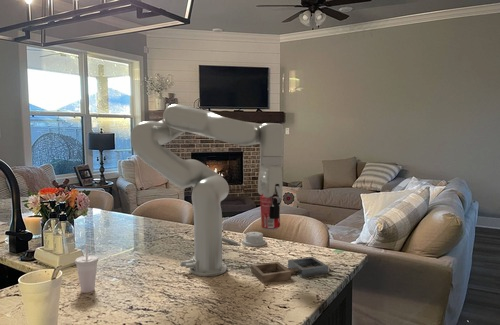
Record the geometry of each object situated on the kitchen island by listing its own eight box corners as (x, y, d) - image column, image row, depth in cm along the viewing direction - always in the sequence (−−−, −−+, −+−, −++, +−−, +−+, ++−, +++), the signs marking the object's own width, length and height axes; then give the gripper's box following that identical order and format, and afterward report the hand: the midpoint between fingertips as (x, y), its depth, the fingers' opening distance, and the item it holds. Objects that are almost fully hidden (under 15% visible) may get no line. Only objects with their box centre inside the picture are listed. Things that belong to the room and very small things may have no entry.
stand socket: (262, 283, 117) (262, 275, 117) (251, 272, 126) (251, 265, 126) (290, 279, 121) (291, 271, 121) (277, 268, 130) (277, 261, 130)
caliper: (196, 240, 164) (196, 226, 163) (198, 239, 165) (198, 225, 164) (239, 246, 156) (239, 231, 155) (240, 245, 157) (240, 230, 156)
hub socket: (290, 279, 121) (291, 271, 121) (277, 268, 130) (277, 261, 130) (328, 273, 126) (328, 266, 126) (312, 263, 135) (312, 256, 135)
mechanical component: (239, 246, 156) (263, 248, 154) (239, 236, 155) (263, 237, 153) (245, 239, 165) (267, 241, 163) (245, 229, 165) (267, 231, 163)
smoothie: (75, 296, 108) (74, 248, 107) (76, 287, 114) (74, 242, 112) (99, 292, 110) (98, 246, 109) (99, 284, 116) (97, 240, 115)
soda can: (259, 230, 120) (258, 193, 119) (262, 225, 126) (261, 190, 125) (279, 231, 119) (278, 194, 118) (281, 225, 125) (280, 190, 124)
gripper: (250, 159, 127) (249, 211, 129) (271, 164, 111) (270, 223, 113) (270, 159, 130) (269, 210, 131) (294, 163, 114) (292, 221, 115)
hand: (269, 215), depth 122 cm, fingers closed on soda can, 6 cm apart
